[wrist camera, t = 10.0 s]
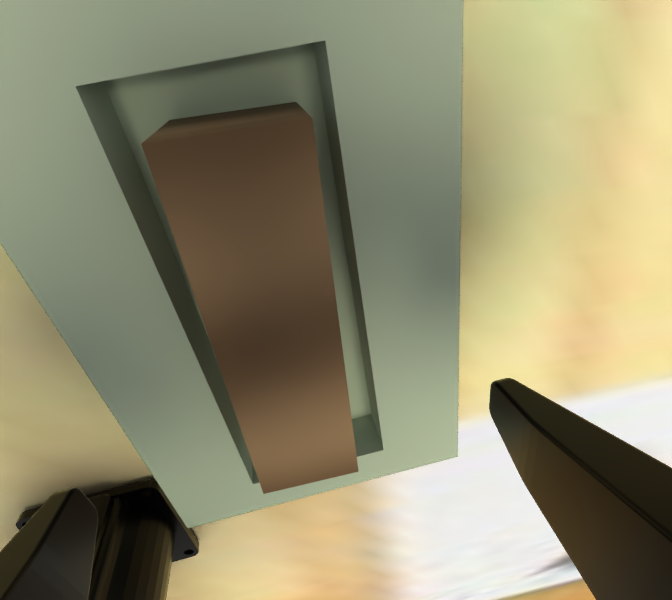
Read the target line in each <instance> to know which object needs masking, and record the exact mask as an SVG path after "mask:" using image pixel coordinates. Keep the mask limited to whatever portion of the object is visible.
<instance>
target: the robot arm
mask: <svg viewBox="0 0 672 600" xmlns="http://www.w3.org/2000/svg"><path fill="white" fill-rule="evenodd" d="M489 409H490V414H491V416H492V419H493V421H494V423H495V425H496V427H497V429H498V431H499V433H500V435H501V437H502V439H503V441H504V444H505V446H506V448H507V450H508V452H509V454H510V456H511V458H512V460H513V462H514V464H515V466H516V468H517V470H518V472H519V474H520V476H521V478H522V480H523V482H524V484H525V485H526V487H527V489H528V490H529V492H530V494H531V495H532V497H533V499H534V500H535V502H536V503H537V505H538V507H539V508H540V510H541V511H542V513H543V515H544V516H545V518H546V520H547V521H548V523H549V524H550V526H551V528H552V529H553V531H554V532H555V534H556V536H557V537H558V539H559V541H560V542H561V544H562V545H563V547H564V549H565V550H566V552H567V553H568V555H569V557H570V558H571V560H572V562H573V563H574V565H575V566H576V568H577V570H578V571H579V573H580V574H581V576H582V578H583V579H584V581H585V583H586V584H587V586H588V587H589V589H590V591H591V592H592V594H593V595H594V597H595V599H596V600H672V468H671V467H669V466H667V465H666V464H664V463H662V462H660V461H659V460H657V459H655V458H653V457H651V456H650V455H648V454H646V453H644V452H642V451H641V450H639V449H637V448H635V447H634V446H632V445H630V444H628V443H626V442H625V441H623V440H621V439H619V438H617V437H616V436H614V435H612V434H610V433H609V432H607V431H605V430H603V429H601V428H600V427H598V426H596V425H594V424H593V423H591V422H589V421H587V420H585V419H584V418H582V417H580V416H578V415H576V414H575V413H573V412H571V411H569V410H568V409H566V408H564V407H562V406H560V405H559V404H557V403H555V402H553V401H551V400H550V399H548V398H546V397H544V396H543V395H541V394H539V393H537V392H535V391H534V390H532V389H530V388H528V387H526V386H525V385H523V384H521V383H519V382H518V381H516V380H514V379H511V378H505V379H501V380H497V381H494V382H493V383H492V384H491V389H490V403H489ZM16 526H17V528H18V529H19V530H20V531H19V532H18V533H17V534H16V535H15V536H14V537H13V538H12V539H11V541H10V542H9V543H8V544H7V545H6V546H5V547H4V548H3V549H2V550H1V551H0V600H166V596H167V589H168V583H169V576H170V569H171V563H172V562H174V561H178V560H181V559H185V558H189V557H192V556H195V555H196V554H197V553H198V551H199V542H198V540H197V539H196V537H195V536H194V534H193V533H192V531H191V530H190V528H187V527H186V525H185V523H184V522H183V520H182V519H181V517H180V516H179V514H178V513H177V511H176V510H175V508H174V507H173V505H172V504H171V502H170V501H169V499H168V498H167V496H166V495H165V493H164V492H163V490H162V488H161V487H160V485H159V484H158V482H157V481H156V480H145V481H141V482H137V483H133V484H129V485H125V486H121V487H117V488H114V489H110V490H106V491H102V492H98V493H94V494H90V495H86V496H85V494H84V493H83V492H82V491H81V490H80V489H78V488H70V489H66V490H62V491H59V492H56V493H54V494H53V495H52V496H51V497H50V498H49V499H48V500H47V501H46V502H45V503H44V504H43V505H42V507H39V508H36V509H32V510H28V511H25V512H23V513H22V514H21V515H20V516H19V518H18V521H17V523H16Z"/></svg>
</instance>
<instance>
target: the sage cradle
mask: <svg viewBox="0 0 672 600" xmlns="http://www.w3.org/2000/svg"><path fill="white" fill-rule="evenodd" d="M462 62H463V0H0V243H1V245H2V246H3V248H4V250H5V251H6V253H7V254H8V256H9V257H10V259H11V260H12V262H13V263H14V265H15V266H16V268H17V269H18V271H19V272H20V274H21V275H22V277H23V278H24V280H25V282H26V283H27V285H28V286H29V288H30V289H31V291H32V292H33V294H34V295H35V297H36V298H37V300H38V301H39V303H40V304H41V306H42V307H43V309H44V310H45V312H46V313H47V315H48V317H49V318H50V320H51V321H52V323H53V324H54V326H55V327H56V329H57V330H58V332H59V333H60V335H61V336H62V338H63V339H64V341H65V342H66V344H67V345H68V347H69V348H70V350H71V352H72V353H73V355H74V356H75V358H76V359H77V361H78V362H79V364H80V365H81V367H82V368H83V370H84V371H85V373H86V374H87V376H88V377H89V379H90V380H91V382H92V383H93V385H94V387H95V388H96V390H97V391H98V393H99V394H100V396H101V397H102V399H103V400H104V402H105V403H106V405H107V406H108V408H109V409H110V411H111V412H112V414H113V415H114V417H115V418H116V420H117V422H118V423H119V425H120V426H121V428H122V429H123V431H124V432H125V434H126V435H127V437H128V438H129V440H130V441H131V443H132V444H133V446H134V447H135V449H136V450H137V452H138V453H139V455H140V457H141V458H142V460H143V461H144V463H145V464H146V466H147V467H148V469H149V470H150V472H151V473H152V475H153V476H154V478H155V479H156V481H157V482H158V484H159V485H160V487H161V488H162V490H163V492H164V493H165V495H166V496H167V498H168V499H169V501H170V502H171V504H172V505H173V507H174V508H175V510H176V511H177V513H178V514H179V516H180V517H181V519H182V520H183V522H184V523H185V525H186V527H187V528H191V527H195V526H199V525H203V524H206V523H210V522H214V521H218V520H221V519H225V518H229V517H233V516H236V515H240V514H244V513H248V512H251V511H255V510H259V509H263V508H266V507H270V506H274V505H278V504H281V503H285V502H289V501H293V500H296V499H300V498H304V497H308V496H311V495H315V494H319V493H323V492H326V491H330V490H334V489H338V488H341V487H345V486H349V485H353V484H356V483H360V482H364V481H368V480H371V479H375V478H379V477H383V476H386V475H390V474H394V473H398V472H401V471H405V470H409V469H413V468H416V467H420V466H424V465H428V464H431V463H435V462H439V461H443V460H446V459H450V458H454V457H458V382H459V302H460V222H461V142H462ZM291 102H297V103H298V104H299V105H300V106H301V107H302V108H303V109H304V110H305V111H306V112H307V113H308V114H309V115H310V116H311V117H312V118H313V126H314V133H315V141H316V149H317V156H318V164H319V172H320V179H321V187H322V195H323V202H324V210H325V218H326V225H327V233H328V241H329V248H330V256H331V264H332V271H333V279H334V287H335V294H336V302H337V310H338V317H339V325H340V333H341V340H342V348H343V356H344V363H345V371H346V379H347V386H348V394H349V402H350V409H351V417H352V425H353V432H354V440H355V448H356V455H357V463H358V471H359V472H355V473H351V474H347V475H342V476H338V477H334V478H330V479H325V480H321V481H317V482H313V483H308V484H304V485H300V486H296V487H291V488H287V489H283V490H279V491H275V492H270V493H266V494H263V491H262V488H261V485H260V483H259V480H258V477H257V474H256V471H255V468H254V465H253V463H252V460H251V457H250V454H249V451H248V448H247V445H246V443H245V440H244V437H243V434H242V431H241V428H240V425H239V423H238V420H237V417H236V414H235V411H234V408H233V405H232V403H231V400H230V397H229V394H228V391H227V388H226V385H225V383H224V380H223V377H222V374H221V371H220V368H219V365H218V362H217V360H216V357H215V354H214V351H213V348H212V345H211V342H210V340H209V337H208V334H207V331H206V328H205V325H204V322H203V320H202V317H201V314H200V311H199V308H198V305H197V302H196V300H195V297H194V294H193V291H192V288H191V285H190V282H189V280H188V277H187V274H186V271H185V268H184V265H183V262H182V260H181V257H180V254H179V251H178V248H177V245H176V242H175V239H174V237H173V234H172V231H171V228H170V225H169V222H168V219H167V217H166V214H165V211H164V208H163V205H162V202H161V199H160V197H159V194H158V191H157V188H156V185H155V182H154V179H153V177H152V174H151V171H150V168H149V165H148V162H147V159H146V157H145V154H144V151H143V148H142V145H141V143H143V142H144V141H145V140H146V139H147V138H149V137H150V136H151V135H152V134H153V133H155V132H156V131H157V130H158V129H159V128H161V127H162V126H163V125H164V124H165V123H167V122H168V121H169V120H173V119H180V118H187V117H194V116H201V115H208V114H215V113H221V112H228V111H235V110H242V109H249V108H256V107H263V106H270V105H277V104H284V103H291Z"/></svg>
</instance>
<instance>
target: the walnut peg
mask: <svg viewBox="0 0 672 600" xmlns="http://www.w3.org/2000/svg"><path fill="white" fill-rule="evenodd" d="M141 145H142V148H143V151H144V154H145V157H146V159H147V162H148V165H149V168H150V171H151V174H152V177H153V179H154V182H155V185H156V188H157V191H158V194H159V197H160V199H161V202H162V205H163V208H164V211H165V214H166V217H167V219H168V222H169V225H170V228H171V231H172V234H173V237H174V239H175V242H176V245H177V248H178V251H179V254H180V257H181V260H182V262H183V265H184V268H185V271H186V274H187V277H188V280H189V282H190V285H191V288H192V291H193V294H194V297H195V300H196V302H197V305H198V308H199V311H200V314H201V317H202V320H203V322H204V325H205V328H206V331H207V334H208V337H209V340H210V342H211V345H212V348H213V351H214V354H215V357H216V360H217V362H218V365H219V368H220V371H221V374H222V377H223V380H224V383H225V385H226V388H227V391H228V394H229V397H230V400H231V403H232V405H233V408H234V411H235V414H236V417H237V420H238V423H239V425H240V428H241V431H242V434H243V437H244V440H245V443H246V445H247V448H248V451H249V454H250V457H251V460H252V463H253V465H254V468H255V471H256V474H257V477H258V480H259V483H260V485H261V488H262V491H263V494H266V493H270V492H275V491H279V490H283V489H287V488H291V487H296V486H300V485H304V484H308V483H313V482H317V481H321V480H325V479H330V478H334V477H338V476H342V475H347V474H351V473H355V472H359V471H358V463H357V455H356V448H355V440H354V432H353V425H352V417H351V409H350V402H349V394H348V386H347V379H346V371H345V363H344V356H343V348H342V340H341V333H340V325H339V317H338V310H337V302H336V294H335V287H334V279H333V271H332V264H331V256H330V248H329V241H328V233H327V225H326V218H325V210H324V202H323V195H322V187H321V179H320V172H319V164H318V156H317V149H316V141H315V133H314V126H313V118H312V117H311V116H310V115H309V114H308V113H307V112H306V111H305V110H304V109H303V108H302V107H301V106H300V105H299V104H298V103H297V102H291V103H284V104H277V105H270V106H263V107H256V108H249V109H242V110H235V111H228V112H221V113H215V114H208V115H201V116H194V117H187V118H180V119H173V120H169V121H168V122H167V123H165V124H164V125H163V126H162V127H161V128H159V129H158V130H157V131H156V132H155V133H153V134H152V135H151V136H150V137H149V138H147V139H146V140H145V141H144V142H143V143H141Z"/></svg>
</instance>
